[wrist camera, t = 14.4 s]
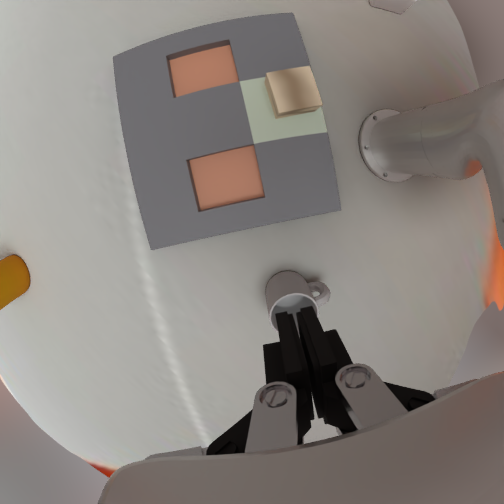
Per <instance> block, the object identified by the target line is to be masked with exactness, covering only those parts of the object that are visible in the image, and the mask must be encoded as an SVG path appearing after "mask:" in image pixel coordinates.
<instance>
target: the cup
mask: <svg viewBox="0 0 504 504" xmlns="http://www.w3.org/2000/svg"><path fill="white" fill-rule="evenodd" d="M314 291H317V292H319V293H320V295H319V296H317V297H313V295H312V293H311V292H314ZM329 298H330V290H329V288H328V287H327V286H326V285H325V284H324V283H322V282H311V283H306V281H305V279H304V278H303V277H302V276H301V275H299V274H298V273H295V272H292V271H284V272H280V273H278V274H276V275H275V276H273V277H272V278H271V279H270V281H269V282H268V284H267V286H266V300H267V307H268V314H269V320H270V324H271V326H272V328H273V329H274V330H275V331H276V332H277V333H278V327H277V322H276V316H275V313H280V312H285V311H287V313H288V314H291V313H292V314H293V317H294V320H295V324H296V327H297V331H298V334H299V329H298V323H297V316H296V312H300V308H304V307H308V306H313V308H314V311H315V313H316V315H317V317H318V318H319V307H320V306H323V305H324V304H326V303H327V302H328V301H329Z"/></svg>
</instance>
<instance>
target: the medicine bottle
mask: <svg viewBox="0 0 504 504" xmlns="http://www.w3.org/2000/svg"><path fill="white" fill-rule="evenodd" d="M369 2H370V5H371V6H373V7H377V8H381V9H384V10H388V11H391V12H395V13H398V14H402V13H403V12H404V11H406V10H407V9H408V8H409V7H410V6H412V5H413V4H414V3H415V2H417V0H369Z"/></svg>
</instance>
